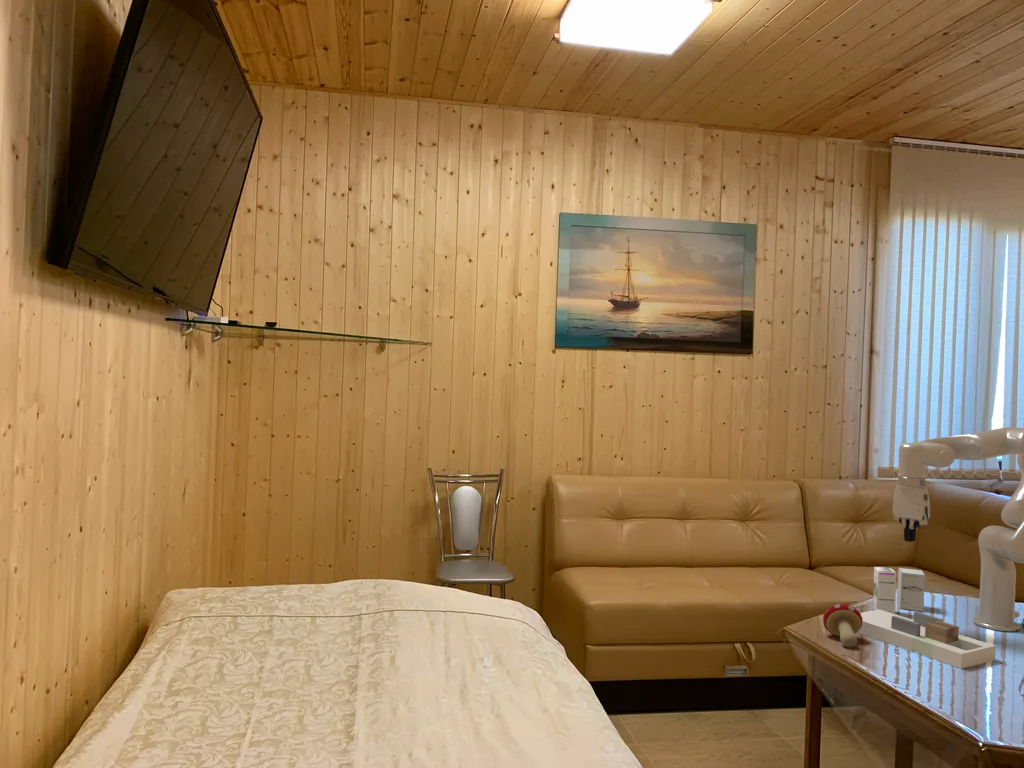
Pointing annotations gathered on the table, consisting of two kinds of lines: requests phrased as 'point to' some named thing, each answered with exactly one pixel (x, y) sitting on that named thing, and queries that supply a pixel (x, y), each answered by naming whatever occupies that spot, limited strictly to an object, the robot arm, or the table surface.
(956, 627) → the walnut block
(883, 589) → the syrup box
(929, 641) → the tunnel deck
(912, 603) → the supplement box
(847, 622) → the decorative mushroom
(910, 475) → the robot arm
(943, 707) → the table surface
